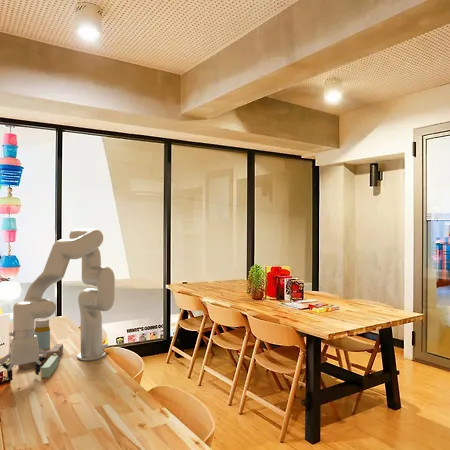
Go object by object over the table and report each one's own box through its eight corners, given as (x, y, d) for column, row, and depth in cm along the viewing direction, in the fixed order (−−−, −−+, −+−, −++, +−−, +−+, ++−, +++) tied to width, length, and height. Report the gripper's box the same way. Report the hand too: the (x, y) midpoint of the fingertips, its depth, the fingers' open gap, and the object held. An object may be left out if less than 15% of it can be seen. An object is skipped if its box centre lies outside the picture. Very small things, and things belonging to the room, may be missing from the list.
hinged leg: (51, 364, 181) (51, 353, 181) (58, 363, 181) (58, 353, 181) (41, 377, 165) (41, 366, 165) (49, 377, 166) (49, 365, 166)
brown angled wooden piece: (58, 352, 199) (58, 341, 199) (76, 355, 194) (76, 344, 194) (15, 369, 176) (15, 357, 176) (34, 372, 172) (34, 360, 172)
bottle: (45, 347, 207) (45, 317, 207) (52, 349, 202) (52, 319, 202) (31, 350, 202) (31, 319, 201) (38, 353, 197) (38, 322, 197)
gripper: (1, 339, 155) (1, 385, 155) (49, 331, 165) (49, 374, 165) (-3, 335, 160) (-3, 379, 160) (44, 328, 171) (44, 369, 171)
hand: (24, 376), depth 163 cm, fingers open, 9 cm apart
